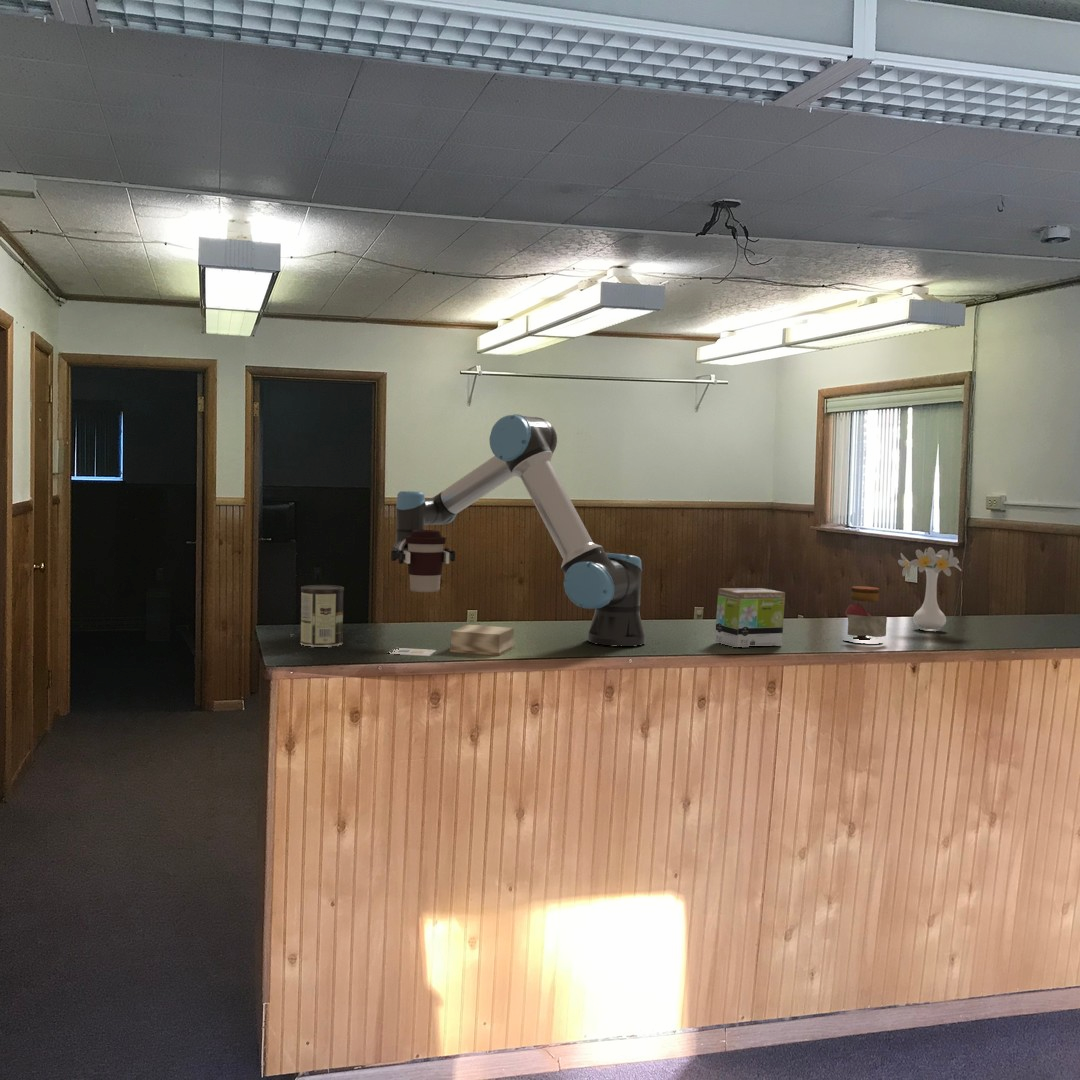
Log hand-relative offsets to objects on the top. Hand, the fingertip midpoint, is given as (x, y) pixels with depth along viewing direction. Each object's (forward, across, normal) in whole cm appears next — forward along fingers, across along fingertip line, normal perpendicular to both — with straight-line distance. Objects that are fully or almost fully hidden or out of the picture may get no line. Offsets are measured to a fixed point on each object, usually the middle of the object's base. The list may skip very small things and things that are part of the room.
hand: (428, 558), depth 263 cm
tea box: (+2, -85, -23) cm, 88 cm away
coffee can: (-5, +25, -22) cm, 34 cm away
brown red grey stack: (-1, -120, -23) cm, 122 cm away
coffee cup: (-5, 0, -9) cm, 10 cm away
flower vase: (-20, -154, -23) cm, 157 cm away
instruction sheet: (+8, +5, -22) cm, 24 cm away
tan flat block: (+5, -13, -22) cm, 26 cm away
